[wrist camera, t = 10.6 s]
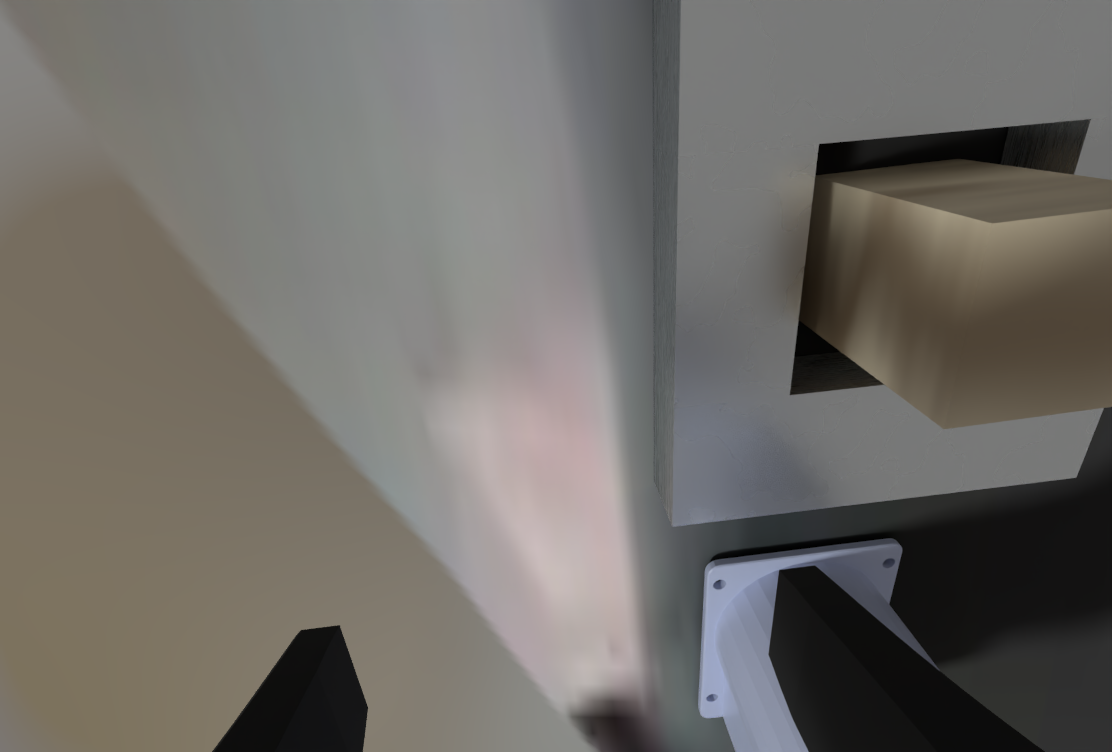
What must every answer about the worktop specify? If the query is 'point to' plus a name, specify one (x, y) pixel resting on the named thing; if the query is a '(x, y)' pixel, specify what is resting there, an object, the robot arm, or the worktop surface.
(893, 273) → the birch block
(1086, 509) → the worktop surface
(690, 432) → the socket plate
